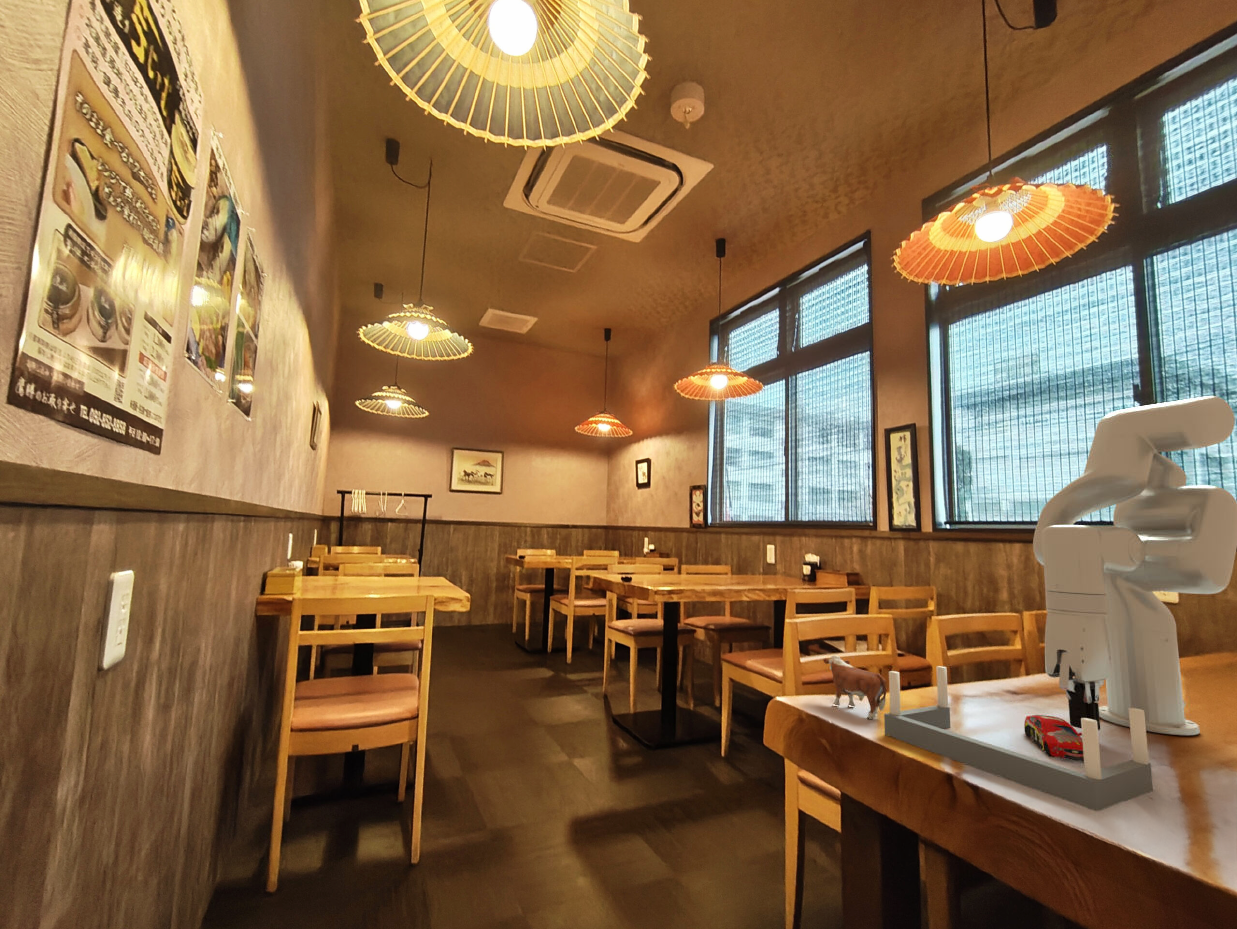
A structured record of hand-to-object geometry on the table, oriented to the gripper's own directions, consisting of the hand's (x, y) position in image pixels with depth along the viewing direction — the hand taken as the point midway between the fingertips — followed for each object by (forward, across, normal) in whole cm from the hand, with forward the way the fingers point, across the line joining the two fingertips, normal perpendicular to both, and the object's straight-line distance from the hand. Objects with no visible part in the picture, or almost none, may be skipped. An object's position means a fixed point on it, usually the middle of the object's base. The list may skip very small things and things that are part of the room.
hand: (1085, 727), depth 85 cm
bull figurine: (+2, +22, -24) cm, 33 cm away
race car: (+2, +9, 0) cm, 9 cm away
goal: (+2, +21, 0) cm, 21 cm away
